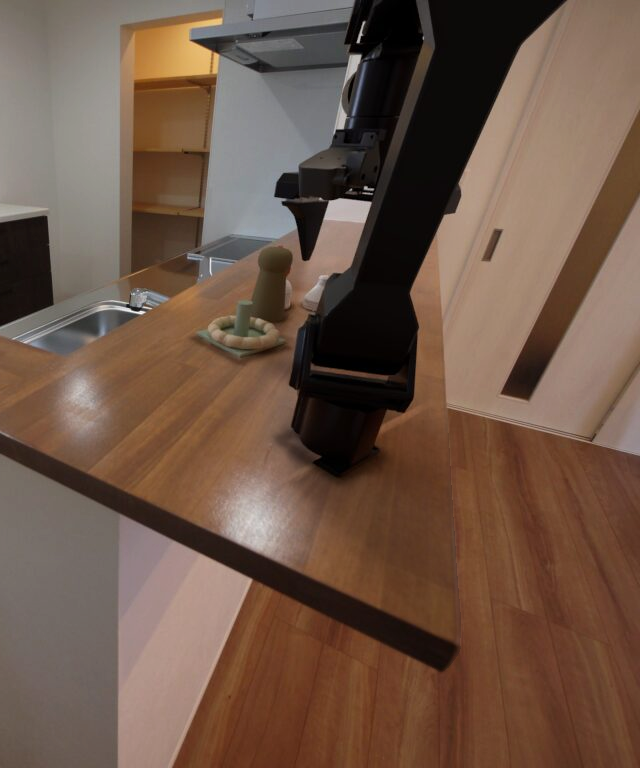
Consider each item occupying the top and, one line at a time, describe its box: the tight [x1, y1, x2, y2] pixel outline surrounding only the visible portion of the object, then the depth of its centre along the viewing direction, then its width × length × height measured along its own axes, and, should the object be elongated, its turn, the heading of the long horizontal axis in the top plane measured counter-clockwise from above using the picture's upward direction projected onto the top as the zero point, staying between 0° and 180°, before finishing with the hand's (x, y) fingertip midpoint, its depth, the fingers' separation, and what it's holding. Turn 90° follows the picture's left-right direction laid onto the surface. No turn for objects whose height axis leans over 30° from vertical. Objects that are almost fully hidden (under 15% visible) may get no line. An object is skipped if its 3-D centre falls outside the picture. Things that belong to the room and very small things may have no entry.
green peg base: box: [195, 299, 287, 359], centre depth 60 cm, size 9×9×6 cm
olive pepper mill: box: [250, 246, 294, 323], centre depth 69 cm, size 6×6×11 cm
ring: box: [207, 315, 280, 349], centre depth 60 cm, size 10×10×2 cm
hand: (337, 268), depth 52 cm, fingers open, 9 cm apart
